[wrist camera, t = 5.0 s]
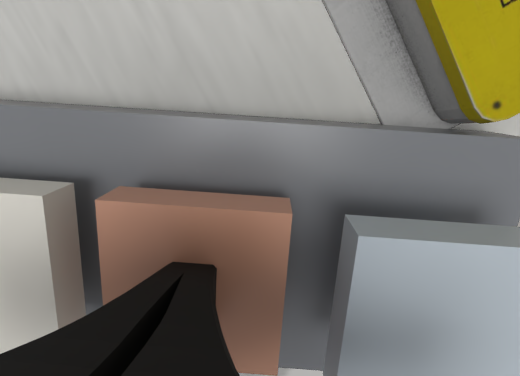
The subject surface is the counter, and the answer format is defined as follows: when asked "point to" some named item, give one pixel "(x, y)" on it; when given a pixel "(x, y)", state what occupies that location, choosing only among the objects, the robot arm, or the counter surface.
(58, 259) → the ivory key
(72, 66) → the counter surface
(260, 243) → the terracotta key
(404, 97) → the emergency button
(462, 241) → the slate key
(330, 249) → the key console
